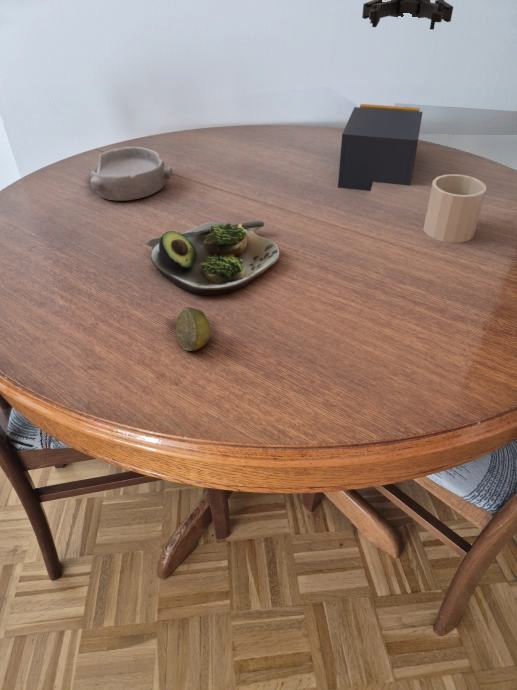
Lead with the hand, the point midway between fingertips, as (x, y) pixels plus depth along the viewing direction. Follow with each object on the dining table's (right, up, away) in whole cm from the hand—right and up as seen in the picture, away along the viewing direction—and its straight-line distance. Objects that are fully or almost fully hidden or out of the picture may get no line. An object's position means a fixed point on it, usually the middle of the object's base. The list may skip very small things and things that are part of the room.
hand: (403, 20), depth 102 cm
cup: (+2, -45, -19) cm, 49 cm away
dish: (-51, -32, -2) cm, 60 cm away
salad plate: (-34, -49, -22) cm, 64 cm away
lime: (-35, -61, -36) cm, 80 cm away
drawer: (-3, -24, +4) cm, 25 cm away
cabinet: (-5, -29, 0) cm, 30 cm away
